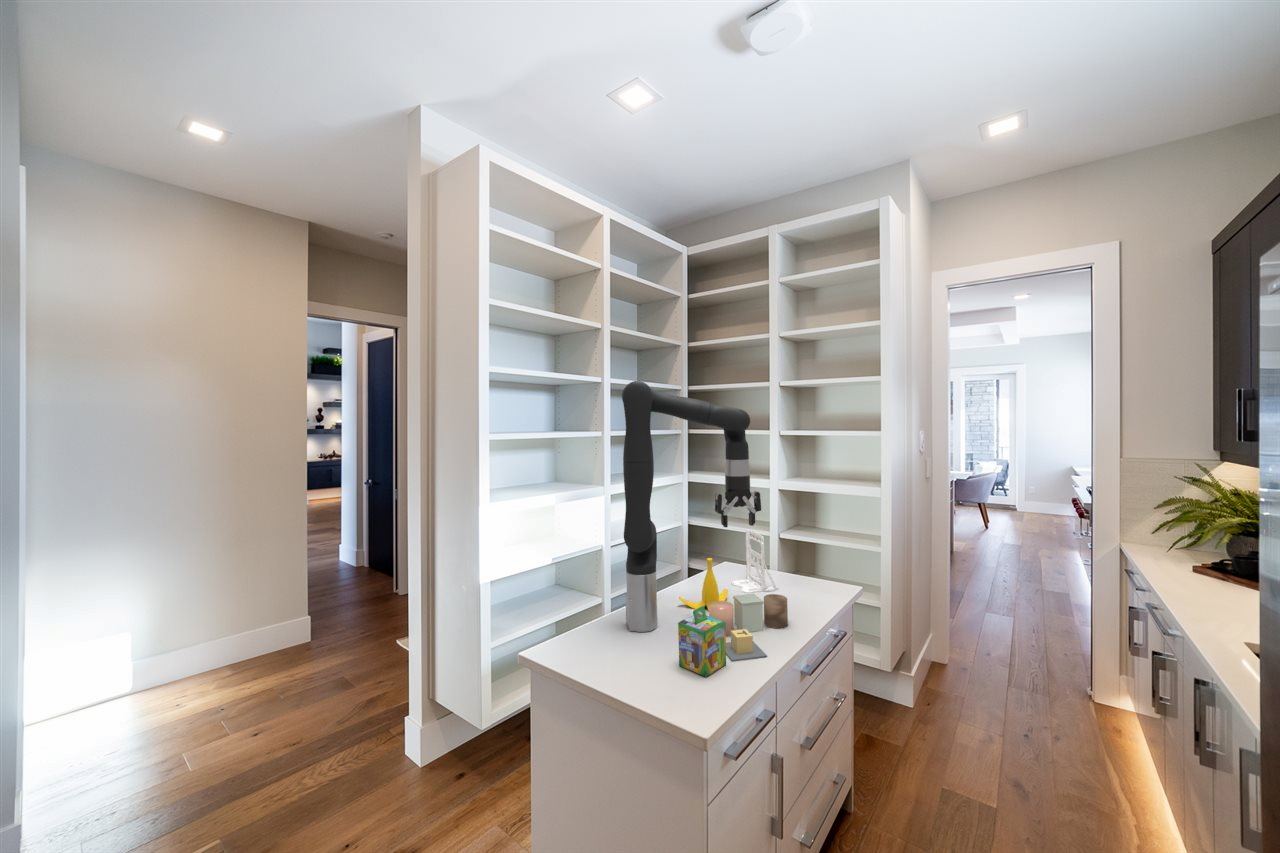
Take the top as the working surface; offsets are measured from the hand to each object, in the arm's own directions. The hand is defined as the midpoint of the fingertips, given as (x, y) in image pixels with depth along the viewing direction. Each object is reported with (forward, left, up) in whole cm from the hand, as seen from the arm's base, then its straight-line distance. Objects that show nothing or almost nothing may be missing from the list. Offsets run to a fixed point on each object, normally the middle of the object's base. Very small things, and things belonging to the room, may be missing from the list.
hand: (738, 526), depth 159 cm
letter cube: (-7, -18, -30) cm, 35 cm away
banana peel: (-4, +12, -31) cm, 33 cm away
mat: (-7, -18, -30) cm, 36 cm away
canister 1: (-8, -5, -30) cm, 32 cm away
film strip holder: (+18, +30, -30) cm, 46 cm away
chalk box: (-20, -23, -30) cm, 43 cm away
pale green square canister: (+1, -4, -30) cm, 30 cm away
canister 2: (+10, -4, -30) cm, 32 cm away
